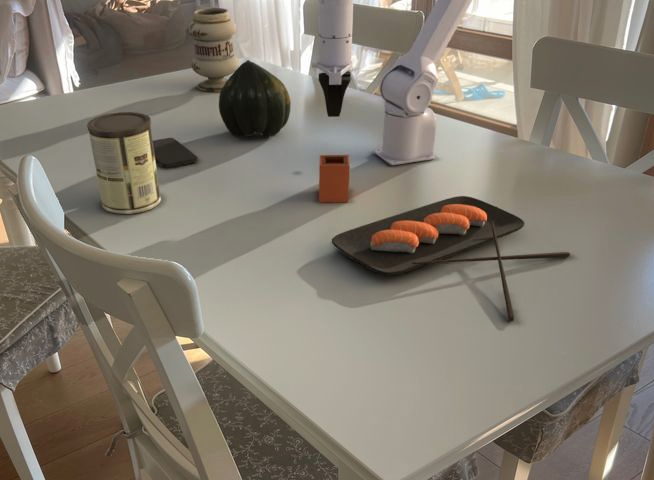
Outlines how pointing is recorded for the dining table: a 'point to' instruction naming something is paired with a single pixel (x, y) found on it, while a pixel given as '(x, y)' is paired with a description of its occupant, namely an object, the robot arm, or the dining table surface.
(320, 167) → the orange open-ended box
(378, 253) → the sushi plate
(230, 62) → the apothecary jar
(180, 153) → the phone
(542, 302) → the dining table surface
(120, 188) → the coffee can
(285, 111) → the squash
